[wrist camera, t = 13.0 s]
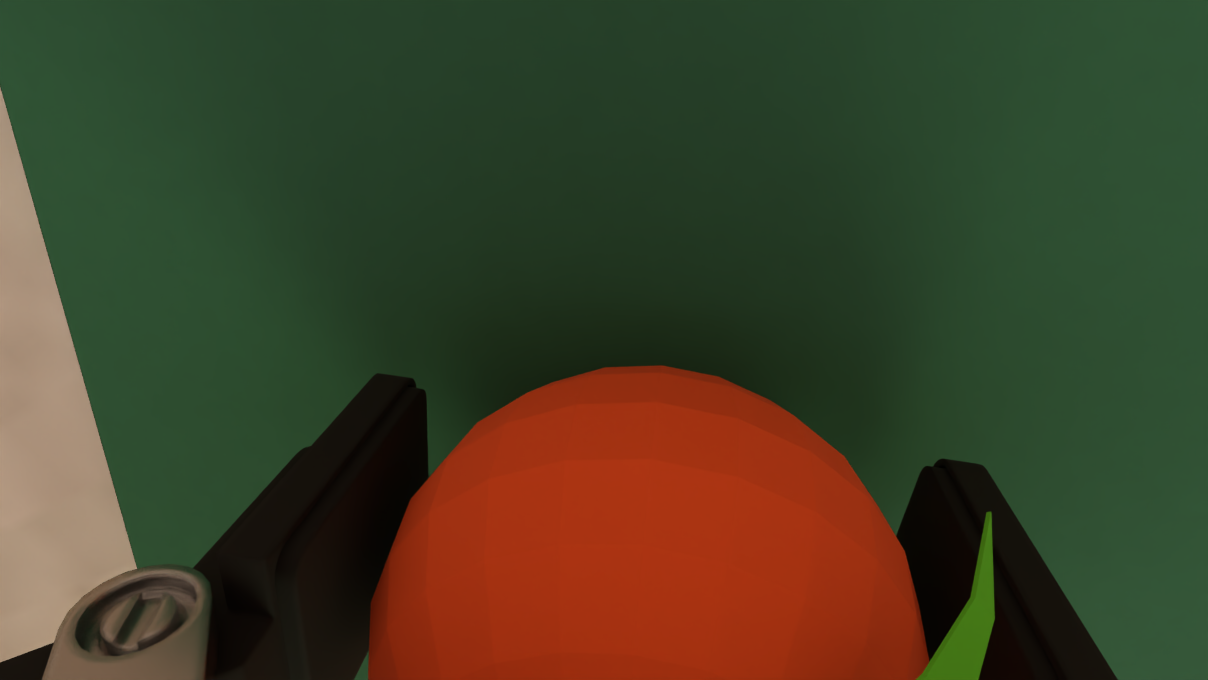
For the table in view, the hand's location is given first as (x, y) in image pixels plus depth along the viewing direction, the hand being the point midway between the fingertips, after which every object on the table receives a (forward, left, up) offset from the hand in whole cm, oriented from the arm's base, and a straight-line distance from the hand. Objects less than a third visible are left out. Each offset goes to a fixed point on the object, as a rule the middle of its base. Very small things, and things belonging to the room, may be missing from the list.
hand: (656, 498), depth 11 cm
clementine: (0, 0, -2) cm, 2 cm away
